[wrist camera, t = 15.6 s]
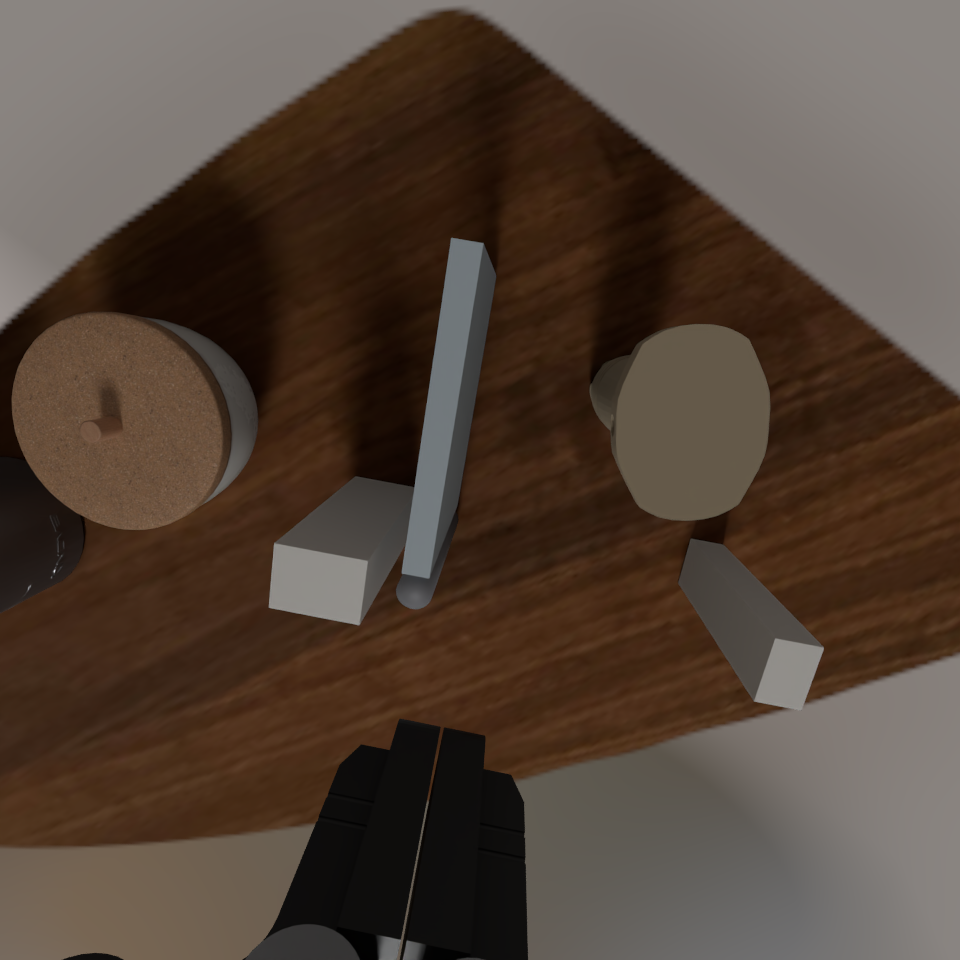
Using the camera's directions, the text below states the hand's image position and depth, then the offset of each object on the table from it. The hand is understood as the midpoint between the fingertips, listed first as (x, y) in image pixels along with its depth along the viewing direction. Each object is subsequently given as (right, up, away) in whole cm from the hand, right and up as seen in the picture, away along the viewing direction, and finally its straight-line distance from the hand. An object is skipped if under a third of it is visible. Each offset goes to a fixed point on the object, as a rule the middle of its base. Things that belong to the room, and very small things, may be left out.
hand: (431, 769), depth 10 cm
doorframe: (+4, +2, +26) cm, 26 cm away
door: (0, +9, +24) cm, 25 cm away
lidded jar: (-16, +9, +25) cm, 32 cm away
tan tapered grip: (+9, +10, +23) cm, 27 cm away
